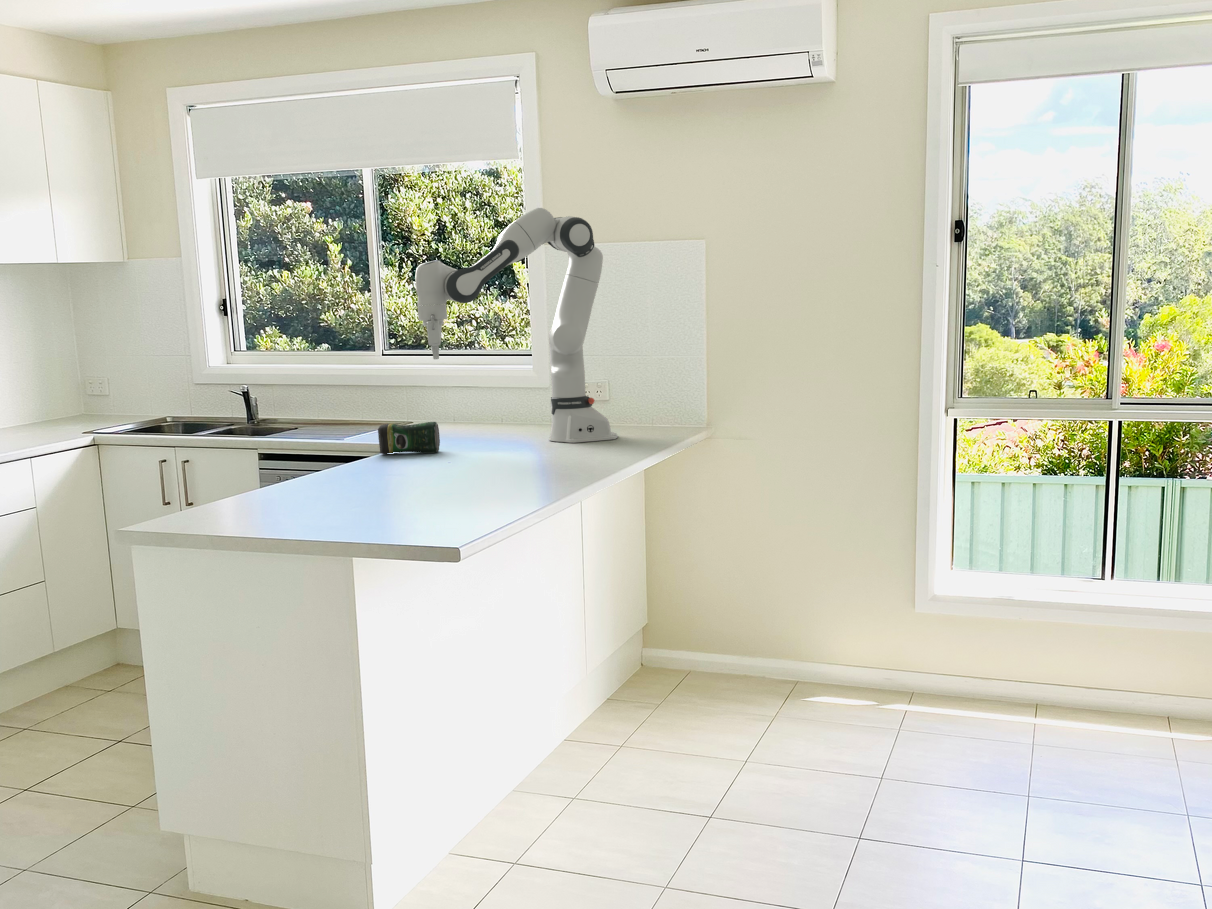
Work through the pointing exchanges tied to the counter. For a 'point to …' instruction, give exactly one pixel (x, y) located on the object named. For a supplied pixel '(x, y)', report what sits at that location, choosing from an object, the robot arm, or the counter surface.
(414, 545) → the counter surface
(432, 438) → the coffee jar
